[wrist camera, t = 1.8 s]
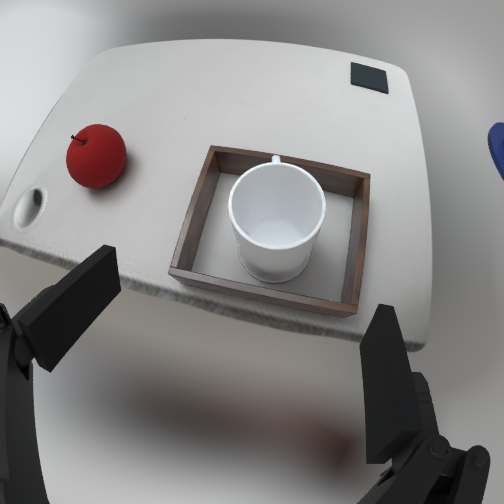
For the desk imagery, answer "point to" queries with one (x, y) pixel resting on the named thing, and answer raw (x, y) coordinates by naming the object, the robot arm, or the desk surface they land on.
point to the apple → (96, 156)
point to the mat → (369, 77)
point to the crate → (181, 267)
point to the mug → (276, 219)
